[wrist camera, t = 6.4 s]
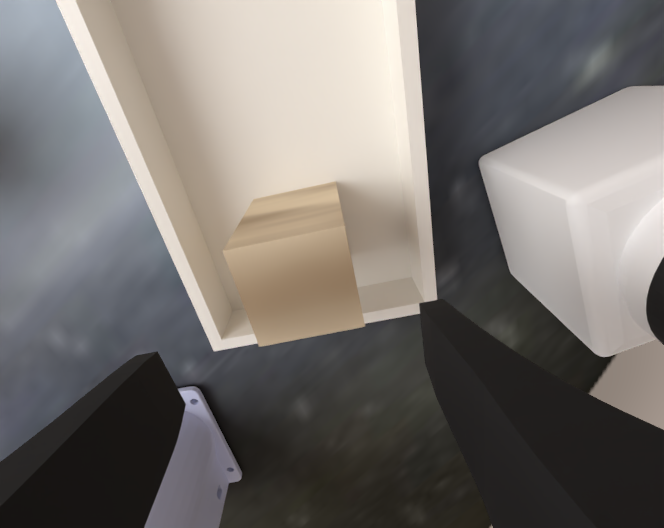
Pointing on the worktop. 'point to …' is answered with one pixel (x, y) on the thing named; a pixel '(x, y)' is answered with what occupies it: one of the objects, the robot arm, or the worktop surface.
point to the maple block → (295, 266)
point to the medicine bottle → (589, 217)
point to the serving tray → (269, 131)
